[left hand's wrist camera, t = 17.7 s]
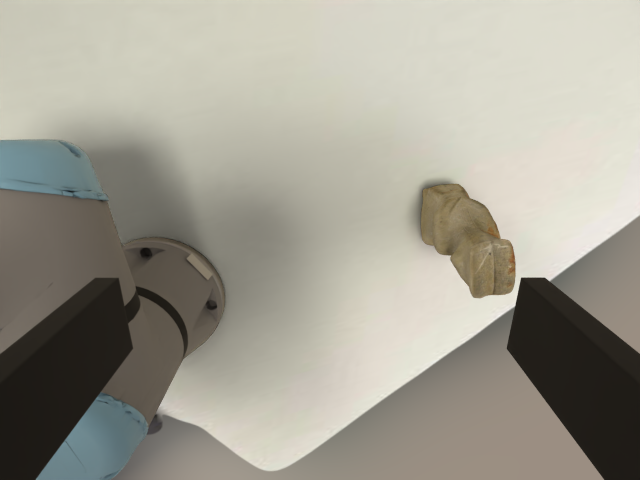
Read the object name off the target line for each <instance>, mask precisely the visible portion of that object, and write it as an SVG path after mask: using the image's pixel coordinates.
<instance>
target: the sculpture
mask: <svg viewBox="0 0 640 480" xmlns="http://www.w3.org/2000/svg"><path fill="white" fill-rule="evenodd" d="M422 197H423V205H422V211H421V232H422V240H423V241H424V243H425V244H428V245H434V246H435V248H436V250H437V252H438V253H439V254H442V255H451V257H450V259H451V262H452V264H453V265H454V267H455V268H456V270H457V271H458V273H459V275H460V276H461V278H462V279H463V280H464V281H465V282H466V284H467V285H468V286H469V289H470V292H471V294H472V296H473V297H474V298H482V297H485V296H487V295H505V294H508V293H510V292H511V291H512V290H513V287H514V283H515V256H514V251H513V247H512V244H511V242H510V241H509V240H506V239H500V234H499V231H498V228H497V225H496V223H495V221H494V220H493V218H492V216H491V214H490V212H489V210H488V209H487V208H486V207H485V206H484V205H483V204H481V203H480V202H478V201H475V200H473V199H470V198H469V196H468V194H467V192H466V191H465V189H464V188H463V187H462V186H461V185H459V184H445V185H438V186H434V187H431V188H427V189H424V190H423V194H422Z"/></svg>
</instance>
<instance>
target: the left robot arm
mask: <svg viewBox="0 0 640 480" xmlns="http://www.w3.org/2000/svg"><path fill="white" fill-rule="evenodd" d="M107 201H108V196H107V195H106V194H105V193H103V191H102V188H101V186H100V184H99V181H98V179H97V177H96V174H95V172H94V169H93V166H92V164H91V161H90V159H89V158H88V156H87V155H86V153H85V152H84V151H83V150H82V149H80V148H79V147H77V146H76V145H74V144H72V143H69V142H66V141H61V140H0V480H110V479H112V478H113V477H115V476H116V475H117V474H118V473H119V472H120V471H121V470H122V469H123V468H124V466H125V465H126V464H127V462H128V461H129V459H130V457H131V456H132V454H133V452H134V451H135V449H136V447H137V446H138V444H139V443H140V442H141V441H142V440H144V438H145V437H146V435H147V432H148V427H149V425H150V423H151V421H152V419H153V417H154V415H155V413H156V411H157V409H158V407H159V405H160V403H161V401H162V400H163V398H164V396H165V394H166V392H167V390H168V388H169V386H170V384H171V382H172V380H173V378H174V376H175V374H176V372H177V370H178V368H179V366H180V364H181V362H182V360H183V359H184V358H185V357H186V356H188V355H189V354H190V353H191V352H193V351H194V350H195V349H197V348H198V347H199V346H201V345H202V344H203V343H204V342H205V341H206V340H207V339H208V338H209V337H210V336H211V335H212V333H213V332H214V331H215V329H216V327H217V326H218V323H219V321H220V319H221V317H222V314H223V311H224V305H225V294H224V289H223V285H222V282H221V279H220V277H219V275H218V273H217V272H216V270H215V269H214V267H213V266H212V265H211V263H210V262H209V261H208V260H207V259H206V258H205V257H204V256H203V255H201V254H200V253H199V252H197V251H196V250H194V249H193V248H191V247H189V246H187V245H185V244H183V243H181V242H178V241H175V240H171V239H167V238H158V237H149V238H141V239H137V240H134V241H131V242H129V243H126V244H124V245H123V246H121V243H120V240H119V237H118V234H117V231H116V228H115V224H114V221H113V218H112V215H111V212H110V209H109V206H108V203H107ZM507 350H508V351H509V352H510V354H511V355H512V356H513V358H514V359H515V360H516V361H517V363H518V364H519V366H520V367H521V368H522V370H523V371H524V372H525V374H526V375H527V376H528V378H529V379H530V380H531V382H532V383H533V384H534V386H535V387H536V388H537V390H538V391H539V392H540V394H541V395H542V397H543V398H544V399H545V401H546V402H547V403H548V405H549V406H550V407H551V409H552V410H553V411H554V413H555V414H556V415H557V417H558V418H559V419H560V421H561V422H562V423H563V425H564V426H565V427H566V429H567V430H568V431H569V433H570V434H571V435H572V437H573V438H574V440H575V441H576V442H577V444H578V445H579V446H580V448H581V449H582V450H583V452H584V453H585V454H586V456H587V457H588V458H589V460H590V461H591V462H592V464H593V465H594V466H595V468H596V469H597V470H598V472H599V473H600V474H601V476H602V477H603V478H604V480H640V354H639V353H638V352H637V351H635V350H634V349H633V348H632V347H631V346H629V345H628V344H627V343H626V342H624V341H623V340H622V339H620V338H619V337H618V336H617V335H616V334H614V333H613V332H612V331H611V330H609V329H608V328H607V327H605V326H604V325H603V324H602V323H601V322H599V321H598V320H597V319H596V318H594V317H593V316H592V315H591V314H589V313H588V312H587V311H586V310H584V309H583V308H582V307H581V306H579V305H578V304H577V303H576V302H574V301H573V300H572V299H571V298H569V297H568V296H567V295H566V294H564V293H563V292H562V291H561V290H559V289H558V288H557V287H556V286H554V285H553V284H552V283H551V282H549V281H548V280H547V279H546V278H521V281H520V286H519V291H518V296H517V301H516V306H515V311H514V315H513V320H512V325H511V330H510V335H509V340H508V345H507Z"/></svg>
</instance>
